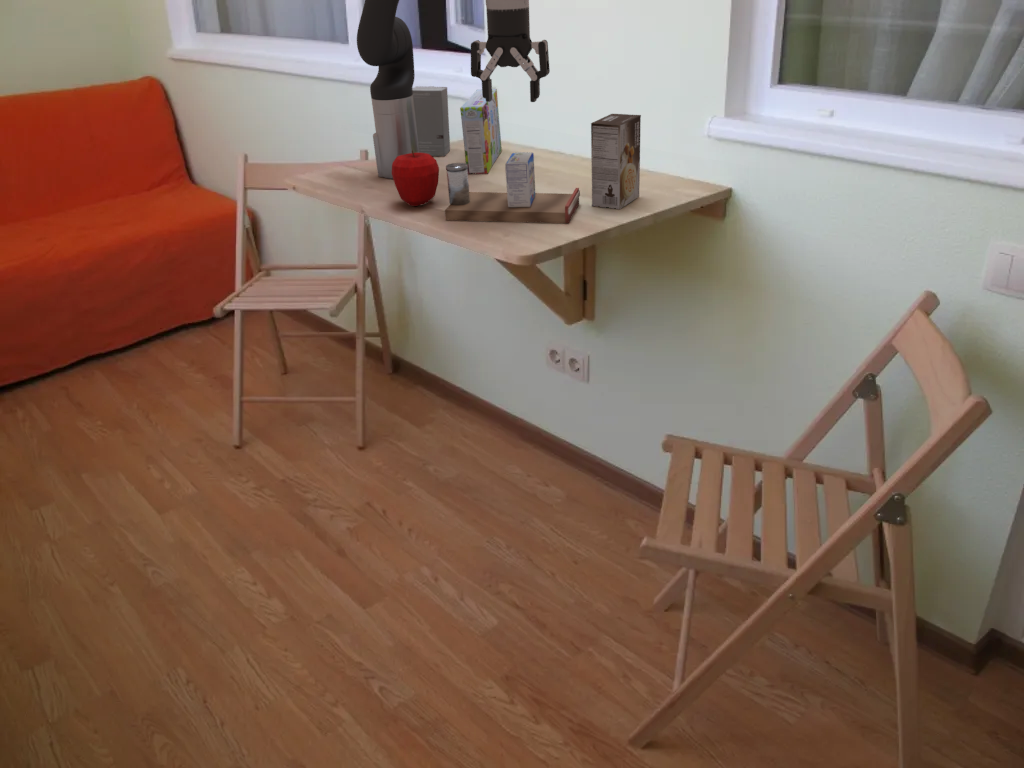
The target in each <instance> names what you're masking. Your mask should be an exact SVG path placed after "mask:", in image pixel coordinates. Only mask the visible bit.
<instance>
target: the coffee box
mask: <svg viewBox="0 0 1024 768" xmlns="http://www.w3.org/2000/svg"><path fill="white" fill-rule="evenodd" d="M641 117H642V115H641V114H629V113H628V114H626V113H610V114H608V115H606V116H604V117H602V118H600V119H598V120H596V121H593V122H591V123H590V136H591V137H590V139H591V141H590V142H591V143H590V145H591V148H590V151H591V152H590V153H591V154H590V155H591V206H592V207H598V206H600V207H599V208H606V207H609V208H608V209H614V208H616V209H615V210H622V208H624V207H626V206H627V205H628V204H630V203H631V202H633V201H634V200H636V199H637V198H640V181H641V180H640V179H641V178H640V176H641V175H640V174H641V172H640V171H641V169H640V168H641V167H640V166H641V165H640V164H641V123H642V122H641Z"/></svg>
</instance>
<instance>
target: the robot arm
mask: <svg viewBox="0 0 1024 768" xmlns="http://www.w3.org/2000/svg"><path fill="white" fill-rule="evenodd" d="M399 3H400V0H364V3H363V8H362V11H361V15H360V18H359V23H358V27H357V33H356V45H357V46H356V47H357V51H358V54H359V56H360V58H361V59H362V61H363V62H364V63H365V64H366V65H368V66H371V67H378V71H377V74H376V77H375V78H374V80H373V81H372V82H371V84H370V85H369V87H370V89H369V90H370V97H371V105H372V113H373V121H374V127H375V128H374V129H375V132H374V133H373V134H372V141H373V148H374V153H375V154H374V155H375V161H376V162H375V164H376V169H377V170H376V171H377V176H378V178H379V177H382V178H386V179H391V180H392V179H393V176H392V163H393V161H394V160H395V159H396V157H397V156H400V155H405V154H409V153H412V150H413V153H419V146H418V137H417V128H416V118H415V109H414V100H413V90H412V88H414V87H413V86H414V82H415V60H414V59H415V58H414V45H413V38H412V35H411V32H410V29H409V27H408V25H407V23H406V22H405V21H404V20H403V19H402V18H400V17H398V16H396V15H397V10H398V5H399ZM485 6H486V9H485V10H486V26H487V27H486V28H487V29H486V30H487V41H480V40H479V39H478V40H473V42H471V43H470V76H471V77H473V78H477V79H480V81H481V89H482V96H483V98H486V102H490V101H492V89H493V84H492V80H493V79H492V78H491V76H492V74H493V73H494V71H495V70H496V69H497V67H498V66H499V67H500V68H507V67H511V68H517V67H521V69H522V70H523V71H524V72H525V73H526V75H528V77H529V78H530V81H529V93H530V96H529V97H530V99H529V100H530V102H531V103H535V102H536V101H537V99H539V97H540V96H541V89H540V88H541V87H540V86H541V84H540V83H541V82H540V80H541V79H543V78H545V77H547V76H548V75H549V74H550V58H549V43H548V41H547V39H542V40H541V41H532V38H531V33H530V32H531V31H530V29H531V26H530V0H485ZM485 49H486V51H487V52H488V54H489V55H490V57H491V58H490V60H489V61H488V62H487V64H486V65H485V68H484V69H482V54H483V53H484V52H485ZM532 49H533V50H534V52H535V53H536V54H537V55H538V62H539V70H538V69H537V68H536V66H535V64H534V62H533V60H531V58H530V57H529V54H530V53H531V52H532Z"/></svg>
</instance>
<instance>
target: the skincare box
mask: <svg viewBox="0 0 1024 768" xmlns="http://www.w3.org/2000/svg"><path fill="white" fill-rule="evenodd" d="M412 90H413V100H414V109H415V118H416V128H417V137H418V146H419V153H427V154H430V155H431V156H432V157H445V156H446V155H448V153H450V152H451V141H450V140H451V138H450V121H449V102H448V101H449V100H448V98H449V97H448V95H449V94H448V87H447V86H434V85H433V86H431V85H430V86H420V85H419V86H415V87H412Z"/></svg>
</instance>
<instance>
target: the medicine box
mask: <svg viewBox="0 0 1024 768" xmlns="http://www.w3.org/2000/svg"><path fill="white" fill-rule="evenodd" d="M535 176H536V175H535V158H534V152H531V151H530V152H528V151H527V152H526V151H520V152H518V151H517V152H512V153H511V155H509V158H508V160H507V161H506V162H505V181H506V182H505V183H506V193H507V199H508V207H512V208H522V207H529V208H530V206H531V204H532V202H533V199H534V197H535V193H536V180H535V178H536V177H535Z"/></svg>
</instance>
